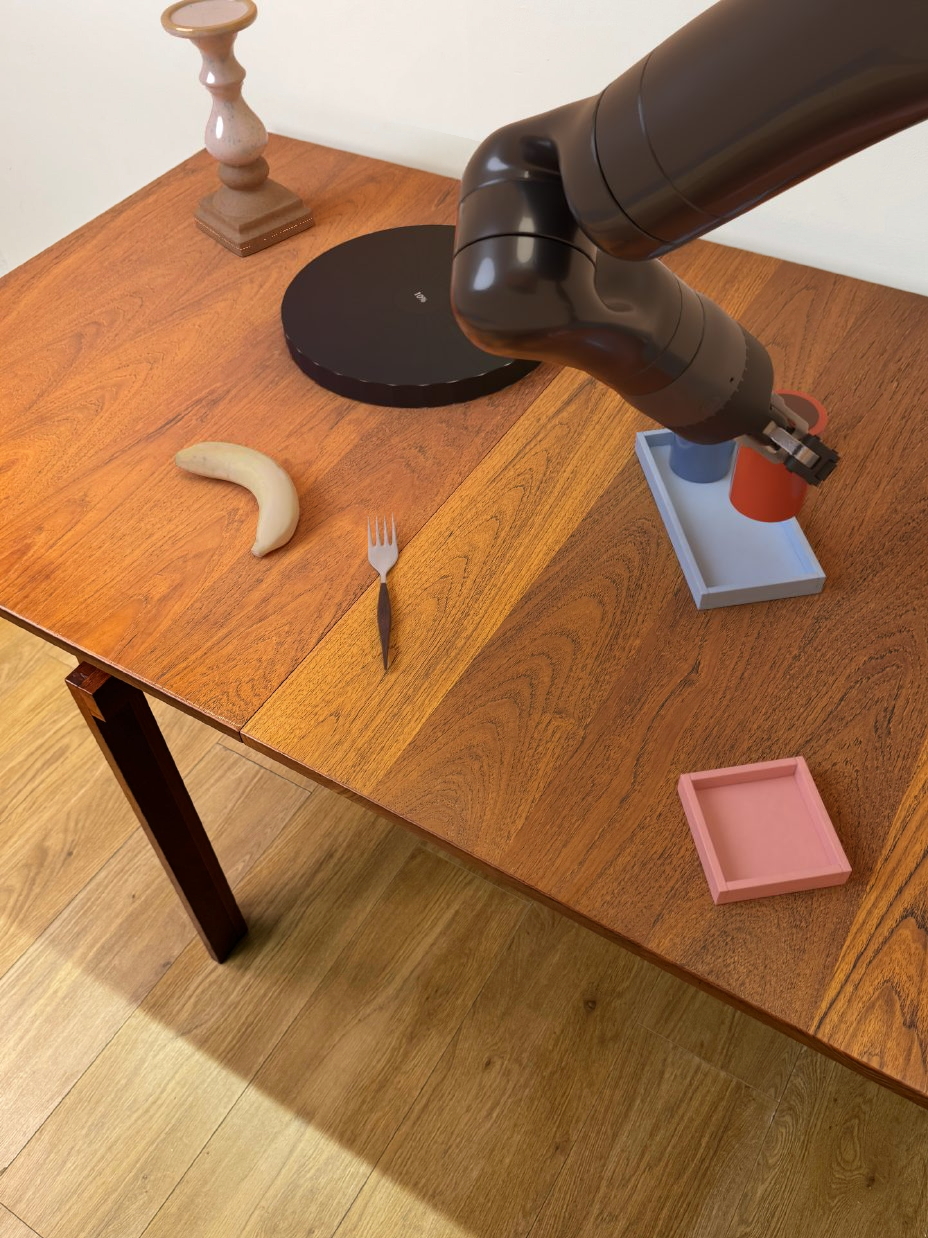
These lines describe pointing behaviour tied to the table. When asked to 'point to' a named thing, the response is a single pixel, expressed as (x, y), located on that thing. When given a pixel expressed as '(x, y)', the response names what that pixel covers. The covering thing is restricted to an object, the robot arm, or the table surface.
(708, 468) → the blue pot
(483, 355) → the disc
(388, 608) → the fork
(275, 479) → the fruit
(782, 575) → the blue tray
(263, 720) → the table surface
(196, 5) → the candle holder
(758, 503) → the red spoon pot
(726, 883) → the pink tray
